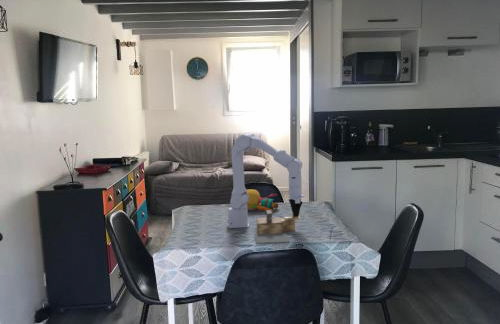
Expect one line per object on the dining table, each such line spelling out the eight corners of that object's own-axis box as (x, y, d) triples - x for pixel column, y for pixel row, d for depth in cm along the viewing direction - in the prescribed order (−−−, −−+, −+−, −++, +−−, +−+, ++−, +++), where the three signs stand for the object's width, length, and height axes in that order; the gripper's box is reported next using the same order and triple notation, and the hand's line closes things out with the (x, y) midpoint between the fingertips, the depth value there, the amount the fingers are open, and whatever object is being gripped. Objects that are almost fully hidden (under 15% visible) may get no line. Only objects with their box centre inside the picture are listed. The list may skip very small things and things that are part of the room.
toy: (280, 209, 250) (238, 201, 256) (283, 191, 248) (240, 182, 254) (272, 218, 231) (227, 209, 238) (275, 198, 229) (230, 189, 236)
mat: (256, 243, 184) (256, 242, 184) (254, 235, 196) (254, 234, 196) (289, 242, 185) (289, 241, 185) (286, 233, 197) (286, 233, 197)
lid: (257, 227, 197) (257, 214, 196) (256, 222, 206) (256, 209, 205) (282, 226, 198) (282, 213, 197) (280, 221, 207) (280, 208, 206)
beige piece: (285, 220, 200) (284, 211, 200) (284, 218, 203) (284, 210, 203) (300, 219, 201) (300, 211, 200) (299, 218, 204) (299, 209, 203)
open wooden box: (257, 234, 198) (257, 223, 197) (256, 228, 207) (256, 218, 206) (295, 232, 198) (295, 222, 198) (293, 226, 207) (293, 216, 207)
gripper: (306, 188, 193) (306, 219, 195) (301, 182, 207) (301, 211, 209) (290, 189, 193) (291, 219, 195) (286, 183, 207) (286, 211, 209)
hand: (295, 215), depth 202 cm, fingers closed on beige piece, 3 cm apart
